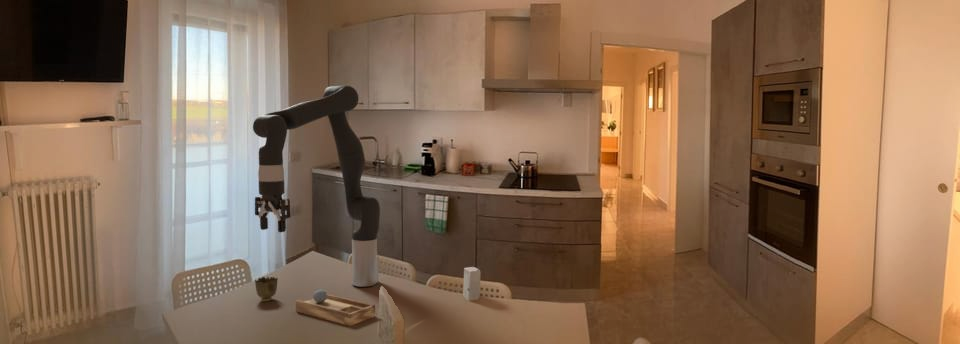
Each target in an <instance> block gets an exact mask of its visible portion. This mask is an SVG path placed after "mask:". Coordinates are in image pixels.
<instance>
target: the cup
mask: <svg viewBox="0 0 960 344" xmlns="http://www.w3.org/2000/svg"><path fill="white" fill-rule="evenodd" d="M278 279H279V278H278V277H275V276H271V277H269V276H267V277H265V276H262V277H258V280H257V279H254V282H255V283H254V284H255V290H256V294H257V296H258V297H259V298H260V300H261V302H262V303H268V302H272V300H273V296H275V295H276V293H277V288H278Z"/></svg>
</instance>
